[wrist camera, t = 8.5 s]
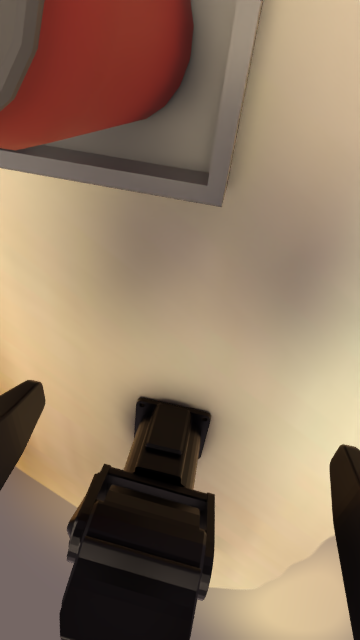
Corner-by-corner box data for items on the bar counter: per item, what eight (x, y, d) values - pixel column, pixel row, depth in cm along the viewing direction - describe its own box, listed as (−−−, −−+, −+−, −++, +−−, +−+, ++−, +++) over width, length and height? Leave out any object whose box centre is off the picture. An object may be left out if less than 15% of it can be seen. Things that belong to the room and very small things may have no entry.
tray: (226, 188, 18) (221, 207, 15) (25, 154, 19) (-16, 165, 16) (295, -168, 11) (310, -257, 8) (-24, -196, 12) (-110, -286, 9)
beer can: (45, 97, 16) (-264, 103, 6) (51, -108, 12) (-700, -867, 3) (173, 141, 16) (59, 212, 7) (217, -48, 12) (102, -557, 3)
